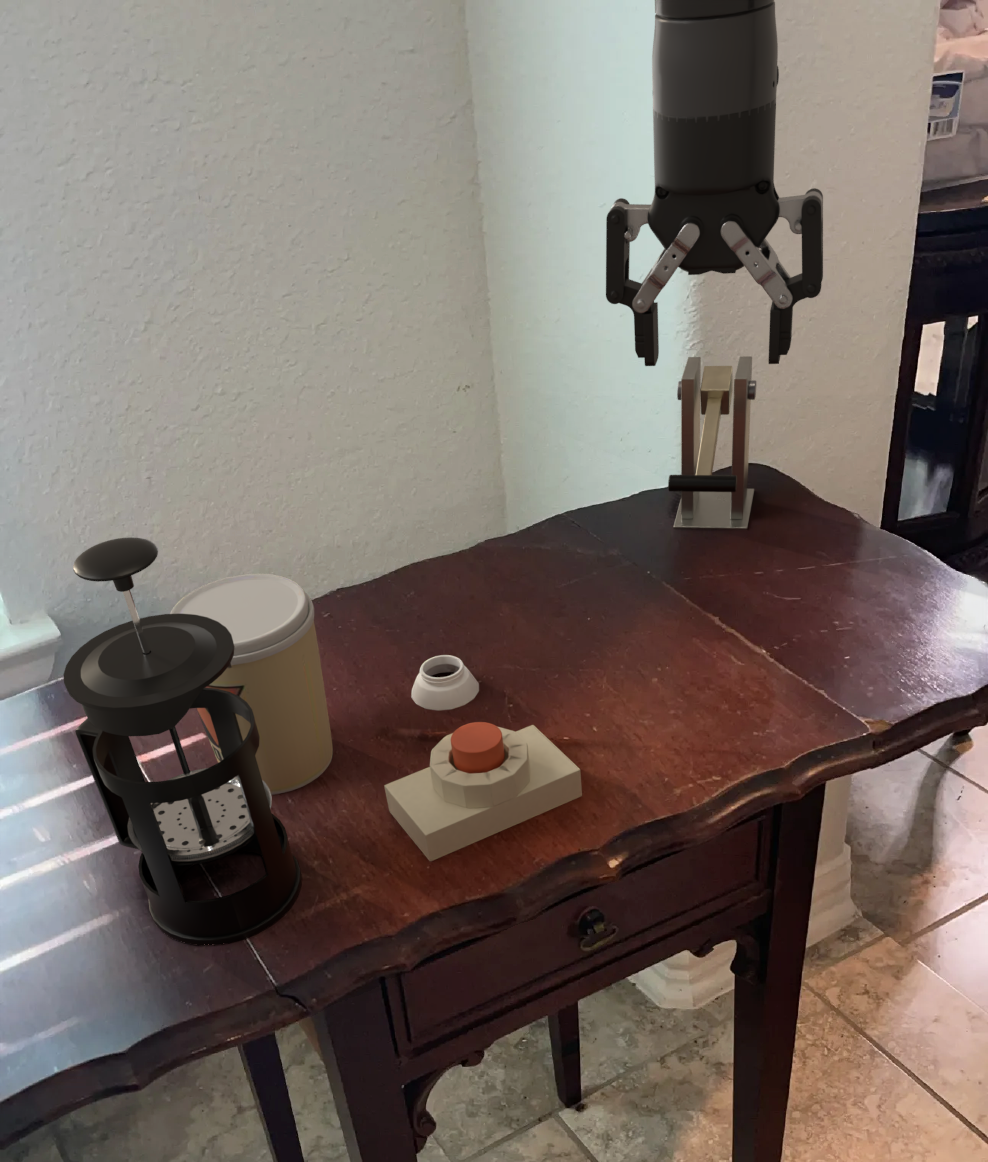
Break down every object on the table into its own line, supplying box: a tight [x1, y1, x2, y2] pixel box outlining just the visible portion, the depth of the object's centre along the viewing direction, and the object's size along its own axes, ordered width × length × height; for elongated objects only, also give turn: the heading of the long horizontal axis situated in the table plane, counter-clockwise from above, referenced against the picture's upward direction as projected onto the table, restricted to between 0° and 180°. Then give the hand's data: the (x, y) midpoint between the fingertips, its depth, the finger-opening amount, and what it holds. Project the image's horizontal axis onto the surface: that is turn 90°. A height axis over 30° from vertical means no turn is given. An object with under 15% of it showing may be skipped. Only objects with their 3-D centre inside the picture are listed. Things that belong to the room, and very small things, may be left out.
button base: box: [383, 724, 583, 862], centre depth 80 cm, size 11×6×4 cm, turn 119°
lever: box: [667, 365, 737, 493], centre depth 97 cm, size 12×5×2 cm, turn 167°
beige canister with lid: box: [169, 573, 334, 796], centre depth 83 cm, size 9×9×12 cm
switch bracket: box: [672, 355, 757, 531], centre depth 102 cm, size 7×6×13 cm
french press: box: [63, 536, 303, 946], centre depth 70 cm, size 12×9×23 cm
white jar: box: [410, 654, 480, 711], centre depth 90 cm, size 5×3×5 cm
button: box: [451, 721, 505, 774], centre depth 78 cm, size 3×3×2 cm
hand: (712, 361), depth 89 cm, fingers open, 8 cm apart
